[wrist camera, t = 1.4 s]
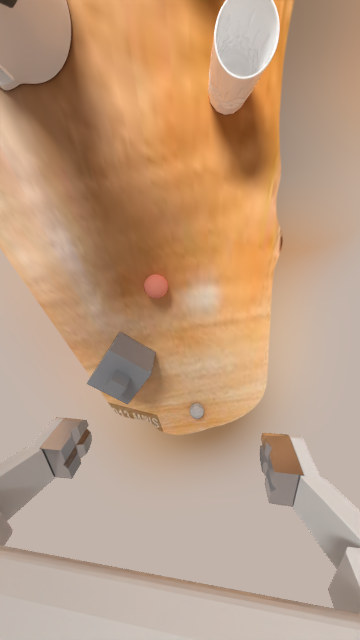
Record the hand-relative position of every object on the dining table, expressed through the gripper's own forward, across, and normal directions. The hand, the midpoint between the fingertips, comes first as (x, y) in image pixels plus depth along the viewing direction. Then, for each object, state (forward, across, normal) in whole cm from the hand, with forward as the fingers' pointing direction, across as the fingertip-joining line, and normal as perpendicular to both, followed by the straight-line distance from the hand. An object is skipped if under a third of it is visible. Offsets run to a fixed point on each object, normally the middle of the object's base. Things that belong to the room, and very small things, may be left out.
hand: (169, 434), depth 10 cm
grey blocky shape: (+36, +19, +19) cm, 46 cm away
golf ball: (+39, +3, +37) cm, 54 cm away
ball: (+36, +10, +1) cm, 37 cm away
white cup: (+41, -5, -30) cm, 51 cm away
